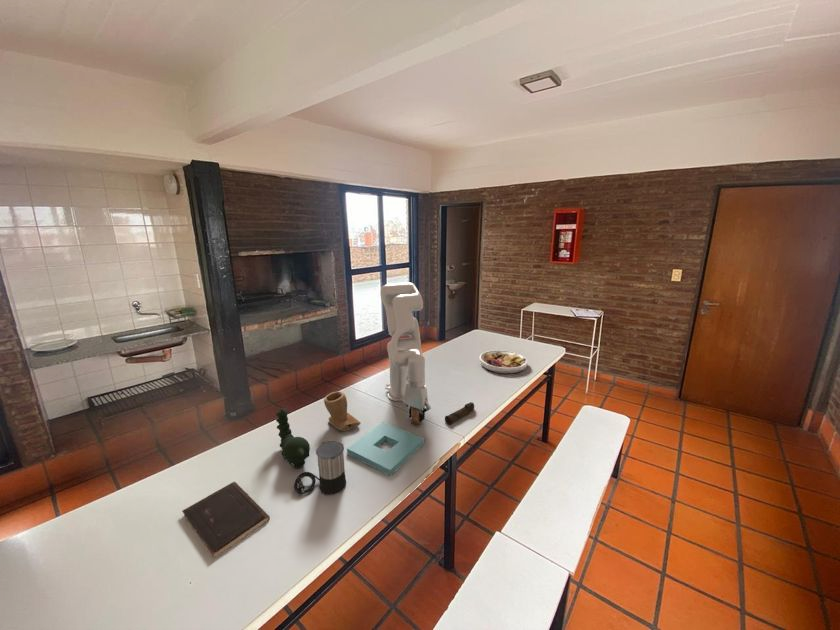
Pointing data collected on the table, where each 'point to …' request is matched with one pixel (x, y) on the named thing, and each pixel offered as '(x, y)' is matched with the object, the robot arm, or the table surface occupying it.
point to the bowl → (503, 361)
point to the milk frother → (326, 470)
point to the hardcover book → (225, 517)
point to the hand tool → (459, 413)
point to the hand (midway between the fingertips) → (416, 418)
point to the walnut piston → (415, 417)
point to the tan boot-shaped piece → (339, 411)
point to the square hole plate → (380, 458)
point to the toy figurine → (291, 442)
